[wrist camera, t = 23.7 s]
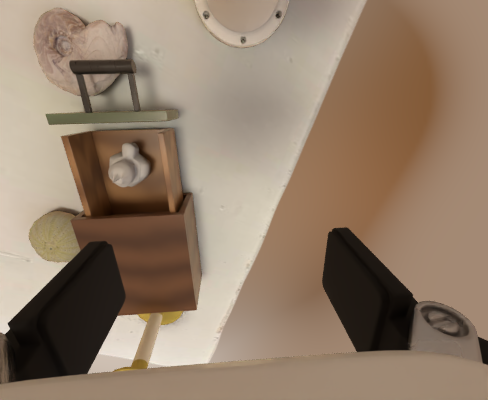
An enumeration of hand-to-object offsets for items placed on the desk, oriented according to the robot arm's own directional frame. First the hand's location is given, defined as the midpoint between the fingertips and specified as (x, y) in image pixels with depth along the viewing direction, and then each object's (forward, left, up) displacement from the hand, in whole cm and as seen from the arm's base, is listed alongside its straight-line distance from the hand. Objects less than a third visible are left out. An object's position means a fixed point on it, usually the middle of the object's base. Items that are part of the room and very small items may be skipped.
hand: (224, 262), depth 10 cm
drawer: (0, -14, -29) cm, 33 cm away
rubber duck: (+1, -14, -28) cm, 32 cm away
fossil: (-13, -18, -31) cm, 38 cm away
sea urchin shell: (+14, -29, -31) cm, 44 cm away
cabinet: (+16, -14, -30) cm, 37 cm away
